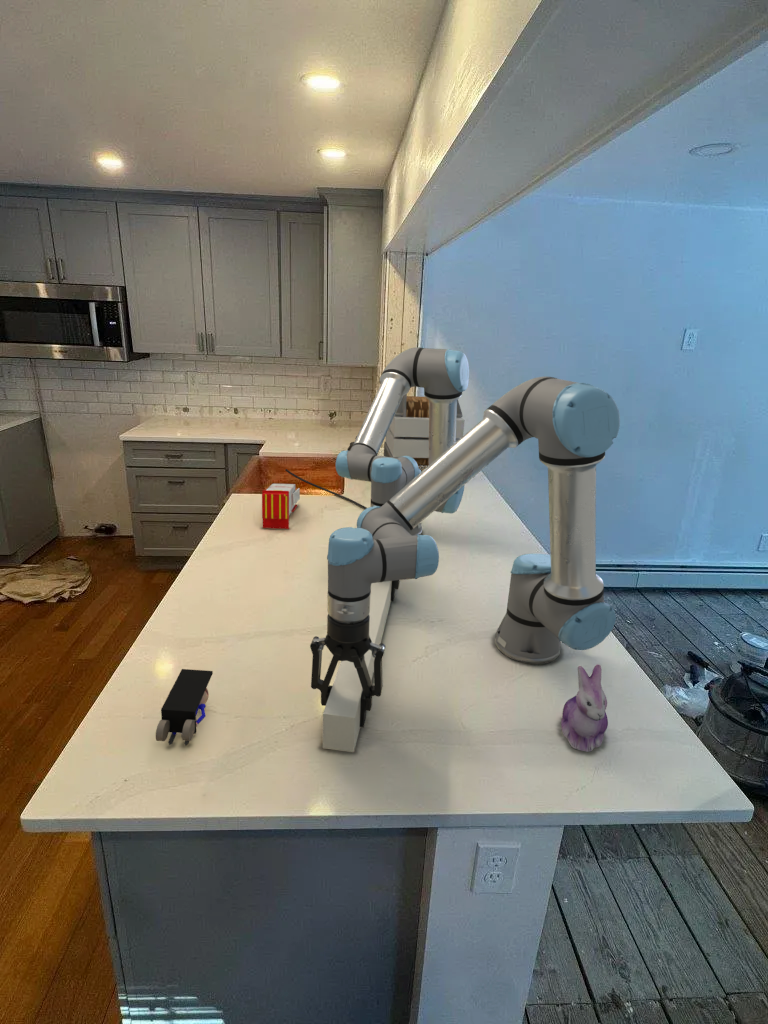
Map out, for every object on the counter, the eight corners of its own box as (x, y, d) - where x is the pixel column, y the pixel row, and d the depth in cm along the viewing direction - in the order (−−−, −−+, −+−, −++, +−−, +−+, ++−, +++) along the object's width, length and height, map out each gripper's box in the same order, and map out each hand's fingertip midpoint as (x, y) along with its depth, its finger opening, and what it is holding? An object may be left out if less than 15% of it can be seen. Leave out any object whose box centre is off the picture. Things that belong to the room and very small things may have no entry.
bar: (374, 586, 162) (375, 561, 159) (394, 588, 161) (395, 563, 158) (322, 748, 102) (322, 713, 99) (353, 752, 101) (355, 717, 99)
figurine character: (195, 758, 100) (216, 696, 113) (191, 727, 96) (213, 666, 110) (157, 758, 99) (182, 695, 113) (151, 726, 96) (178, 666, 110)
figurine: (585, 761, 101) (600, 692, 96) (546, 725, 110) (557, 659, 104) (622, 745, 105) (638, 678, 100) (581, 712, 114) (594, 648, 109)
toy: (301, 479, 224) (291, 492, 194) (301, 512, 226) (291, 530, 197) (270, 478, 223) (256, 491, 194) (271, 511, 226) (256, 529, 197)
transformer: (382, 463, 289) (386, 382, 275) (445, 464, 293) (451, 384, 279) (390, 482, 257) (394, 392, 243) (460, 483, 261) (468, 394, 247)
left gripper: (345, 520, 144) (344, 600, 152) (419, 526, 142) (414, 607, 150) (351, 510, 151) (349, 588, 159) (421, 516, 149) (416, 594, 157)
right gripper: (291, 619, 98) (292, 727, 106) (399, 630, 96) (392, 740, 104) (302, 598, 105) (303, 701, 113) (403, 608, 103) (397, 713, 111)
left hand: (380, 597), depth 154 cm, fingers closed on bar, 6 cm apart
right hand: (346, 720), depth 108 cm, fingers closed on bar, 6 cm apart
